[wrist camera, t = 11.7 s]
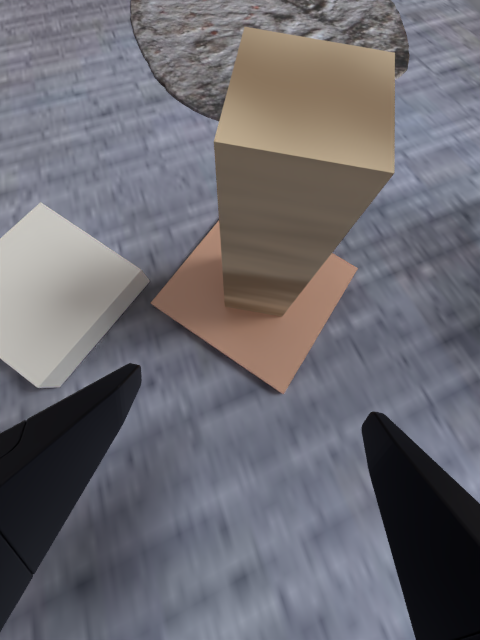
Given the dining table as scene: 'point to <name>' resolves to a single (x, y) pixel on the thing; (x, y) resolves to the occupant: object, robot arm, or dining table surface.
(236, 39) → the worn metal disc
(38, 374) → the white square tile
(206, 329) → the terracotta tile
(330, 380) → the dining table surface
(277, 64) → the oak block
